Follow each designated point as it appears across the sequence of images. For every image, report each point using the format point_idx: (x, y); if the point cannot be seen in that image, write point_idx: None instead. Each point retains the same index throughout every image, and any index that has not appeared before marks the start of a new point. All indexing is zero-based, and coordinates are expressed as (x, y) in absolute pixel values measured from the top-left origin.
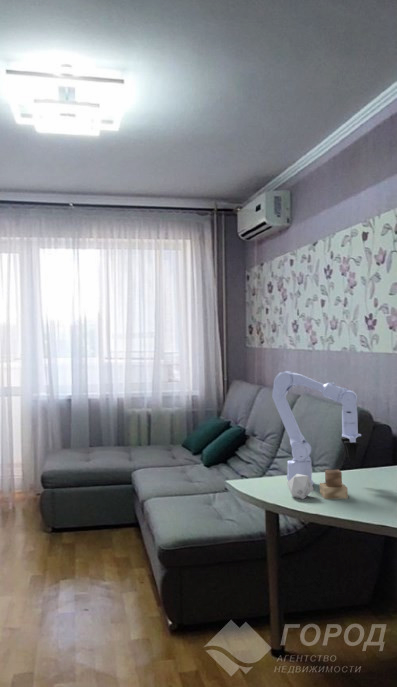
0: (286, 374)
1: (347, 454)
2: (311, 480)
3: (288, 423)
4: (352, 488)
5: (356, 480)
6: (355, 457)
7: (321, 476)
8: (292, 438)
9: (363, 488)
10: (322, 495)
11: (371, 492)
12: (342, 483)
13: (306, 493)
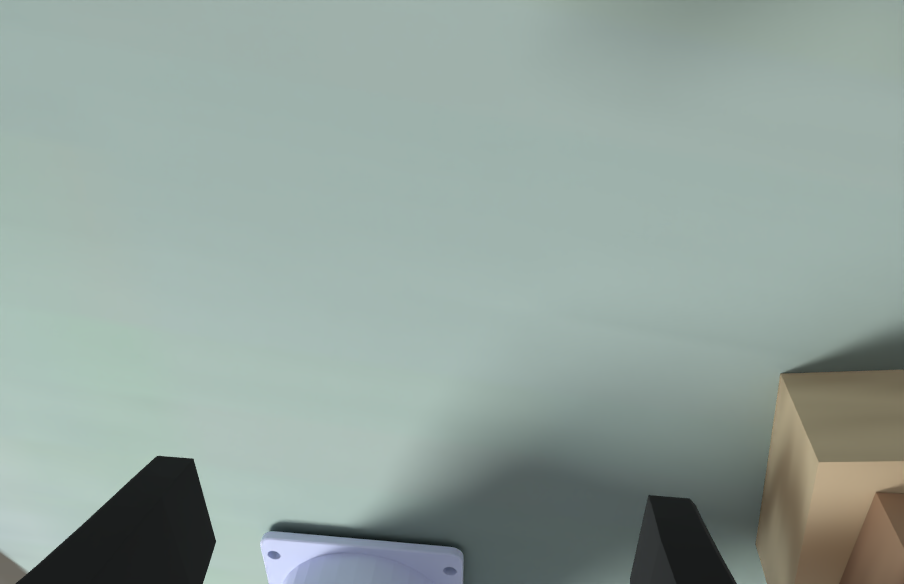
0: None
1: (194, 574)
2: (385, 576)
3: None
4: (596, 227)
5: (119, 90)
6: (721, 562)
7: (33, 427)
8: None
9: (609, 83)
10: None
11: (880, 10)
12: (886, 463)
13: None
